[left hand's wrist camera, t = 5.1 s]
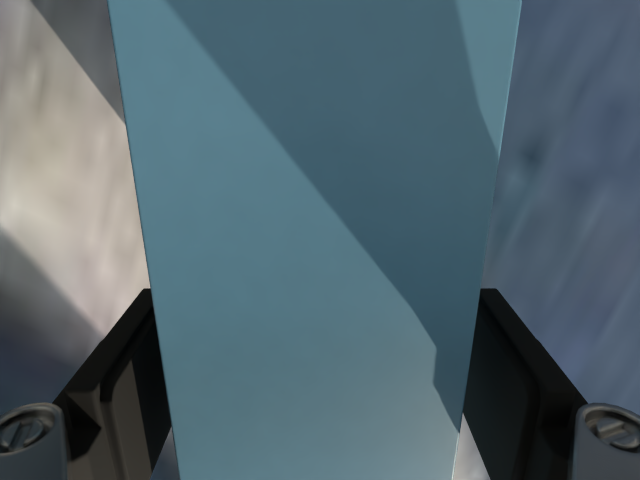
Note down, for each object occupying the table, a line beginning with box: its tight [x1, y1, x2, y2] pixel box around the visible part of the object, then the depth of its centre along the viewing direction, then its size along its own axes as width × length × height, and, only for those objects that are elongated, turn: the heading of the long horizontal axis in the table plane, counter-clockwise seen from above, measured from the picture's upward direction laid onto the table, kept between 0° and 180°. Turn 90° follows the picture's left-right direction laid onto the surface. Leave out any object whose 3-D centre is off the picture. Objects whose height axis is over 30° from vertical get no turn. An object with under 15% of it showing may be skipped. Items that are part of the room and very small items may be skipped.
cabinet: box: [107, 0, 522, 480], centre depth 12 cm, size 20×6×12 cm, turn 0°
